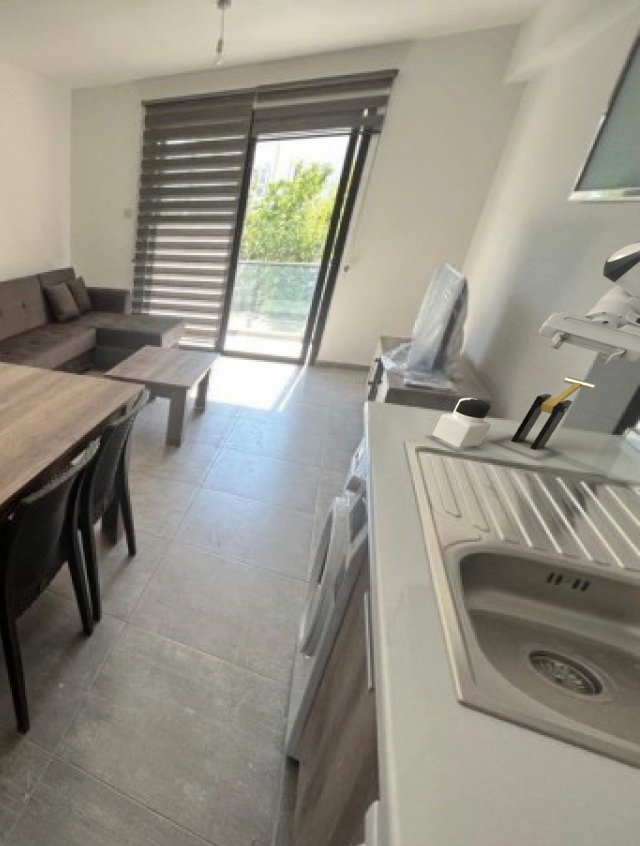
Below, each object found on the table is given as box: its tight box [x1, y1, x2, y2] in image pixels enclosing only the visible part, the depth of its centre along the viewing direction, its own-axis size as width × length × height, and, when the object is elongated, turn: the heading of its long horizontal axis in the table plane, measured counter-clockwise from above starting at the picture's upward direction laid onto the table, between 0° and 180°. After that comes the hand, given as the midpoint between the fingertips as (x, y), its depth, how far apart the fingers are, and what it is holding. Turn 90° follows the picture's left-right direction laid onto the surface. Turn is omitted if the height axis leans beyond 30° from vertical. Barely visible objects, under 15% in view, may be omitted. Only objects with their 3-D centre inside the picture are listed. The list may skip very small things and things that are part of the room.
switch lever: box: [540, 376, 598, 415], centre depth 116 cm, size 12×6×2 cm, turn 111°
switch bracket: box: [510, 393, 573, 451], centre depth 118 cm, size 10×9×14 cm
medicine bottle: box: [432, 397, 492, 448], centre depth 119 cm, size 7×7×12 cm
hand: (579, 353), depth 120 cm, fingers open, 8 cm apart
